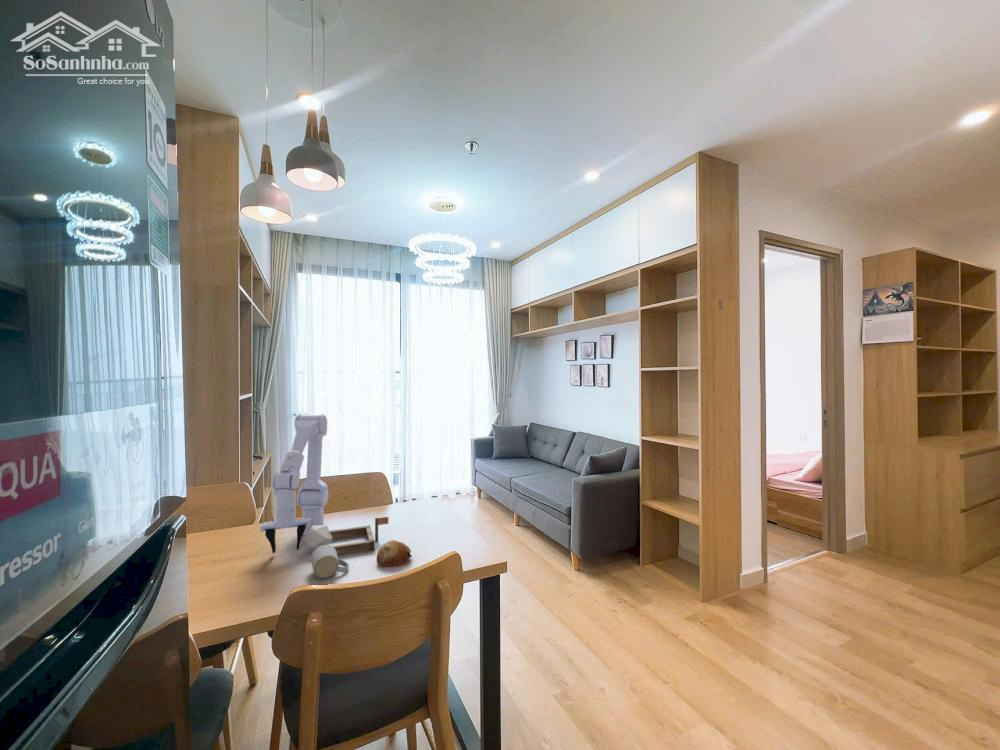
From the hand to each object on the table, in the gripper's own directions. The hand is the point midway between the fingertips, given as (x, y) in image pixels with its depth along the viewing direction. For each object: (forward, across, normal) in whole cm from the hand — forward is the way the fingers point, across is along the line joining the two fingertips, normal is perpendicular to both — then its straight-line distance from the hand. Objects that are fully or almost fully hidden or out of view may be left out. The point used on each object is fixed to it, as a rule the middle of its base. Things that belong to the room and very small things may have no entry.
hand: (286, 550), depth 136 cm
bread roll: (+2, +32, -18) cm, 37 cm away
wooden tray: (+1, +23, 0) cm, 23 cm away
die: (+2, +9, 0) cm, 10 cm away
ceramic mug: (+2, +13, -19) cm, 23 cm away
